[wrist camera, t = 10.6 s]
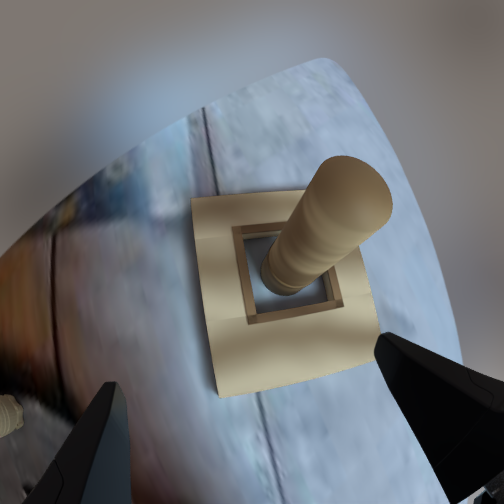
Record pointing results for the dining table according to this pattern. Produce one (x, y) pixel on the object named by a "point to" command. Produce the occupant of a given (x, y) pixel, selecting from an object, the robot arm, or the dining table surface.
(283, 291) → the peg
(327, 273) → the socket board
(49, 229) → the dining table surface
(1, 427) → the handle
